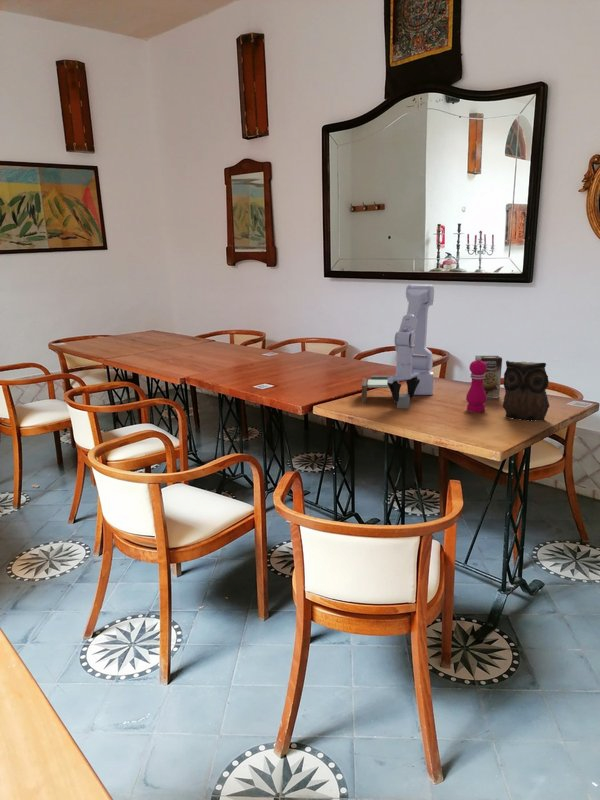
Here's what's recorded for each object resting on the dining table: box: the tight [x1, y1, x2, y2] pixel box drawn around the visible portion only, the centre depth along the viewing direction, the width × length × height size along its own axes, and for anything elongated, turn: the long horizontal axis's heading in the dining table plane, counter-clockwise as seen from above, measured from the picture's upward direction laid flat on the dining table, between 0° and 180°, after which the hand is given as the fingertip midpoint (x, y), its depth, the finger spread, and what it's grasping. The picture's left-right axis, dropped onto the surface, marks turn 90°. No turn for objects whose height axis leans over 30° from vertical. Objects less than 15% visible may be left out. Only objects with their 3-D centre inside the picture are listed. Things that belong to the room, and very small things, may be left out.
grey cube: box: [396, 393, 411, 409], centre depth 216 cm, size 4×4×4 cm
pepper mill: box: [465, 355, 488, 413], centre depth 207 cm, size 7×7×20 cm
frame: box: [361, 377, 400, 404], centre depth 227 cm, size 14×13×7 cm
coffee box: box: [474, 355, 503, 399], centre depth 225 cm, size 9×6×16 cm
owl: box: [502, 360, 550, 422], centre depth 197 cm, size 13×13×20 cm
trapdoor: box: [367, 375, 391, 387], centre depth 226 cm, size 10×12×2 cm
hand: (403, 399), depth 215 cm, fingers open, 7 cm apart
